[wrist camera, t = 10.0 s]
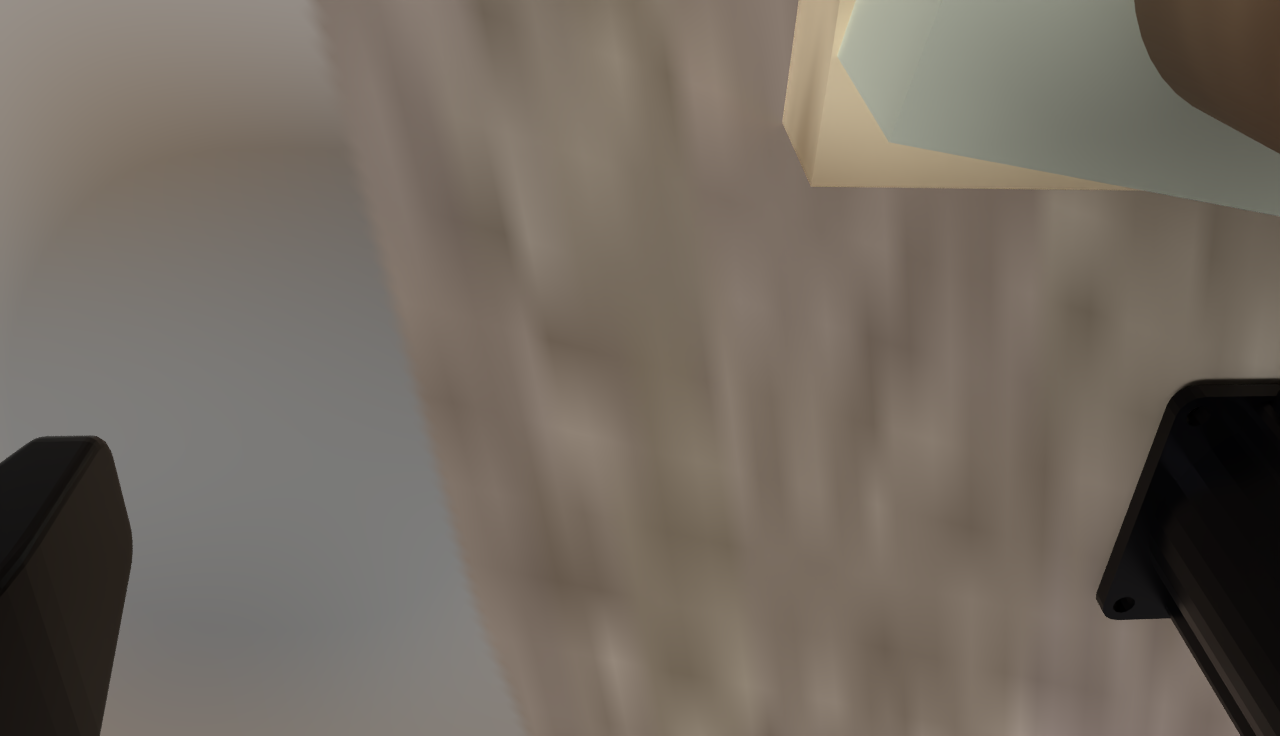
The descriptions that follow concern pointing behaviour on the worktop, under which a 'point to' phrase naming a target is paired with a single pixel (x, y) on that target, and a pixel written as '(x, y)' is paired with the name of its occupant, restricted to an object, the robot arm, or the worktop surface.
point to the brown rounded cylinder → (1220, 59)
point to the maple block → (873, 125)
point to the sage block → (1047, 96)
